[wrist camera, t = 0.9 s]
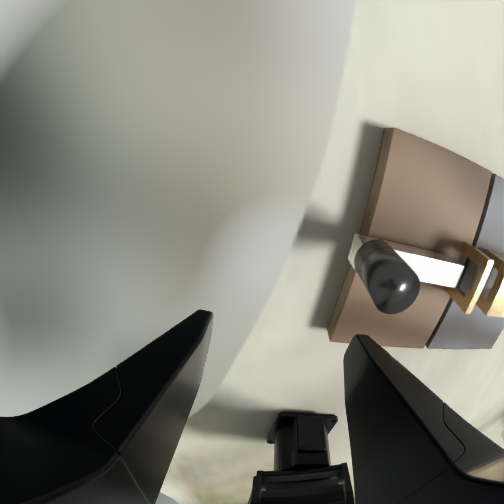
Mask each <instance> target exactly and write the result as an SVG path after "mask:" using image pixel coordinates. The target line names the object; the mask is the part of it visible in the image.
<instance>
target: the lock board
mask: <svg viewBox="0 0 504 504" xmlns="http://www.w3.org/2000/svg"><path fill="white" fill-rule="evenodd" d="M360 235H365V236H369V237H374V238H378V239H383V240H387V241H391V242H396V243H400V244H404V245H408V246H413V247H417V248H421V249H425V250H429V251H433V252H437V253H441V254H445V255H449V256H452V257H454V258H455V259H457V260H458V261H459V262H460V263H461V264H462V265H464V266H465V267H464V270H463V272H462V274H461V277H460V279H459V281H458V284H457V286H458V287H459V288H460V289H461V290H462V291H463V292H464V293H465V294H466V293H467V291H468V289H469V286H470V284H471V282H472V279H473V277H474V275H475V272H476V270H477V267H478V265H477V264H476V263H474V262H473V261H472V260H471V259H469V258H468V257H467V256H466V255H464V254H463V253H462V252H461V251H462V248H463V245H464V243H465V242H467V243H470V244H471V245H473V246H474V247H476V248H477V249H479V250H480V251H481V252H483V253H484V251H485V249H489V250H491V251H494V252H497V253H500V254H503V255H504V179H503V178H501V177H499V176H497V175H496V174H492V172H491V171H489V170H487V169H485V168H483V167H481V166H480V165H478V164H476V163H474V162H472V161H470V160H468V159H466V158H464V157H462V156H460V155H458V154H456V153H454V152H452V151H450V150H447V149H445V148H443V147H441V146H439V145H436V144H434V143H432V142H429V141H427V140H424V139H422V138H420V137H417V136H415V135H412V134H409V133H407V132H404V131H402V130H399V129H396V128H385V129H384V135H383V140H382V145H381V150H380V154H379V159H378V164H377V168H376V172H375V177H374V181H373V185H372V189H371V193H370V197H369V201H368V205H367V209H366V212H365V216H364V220H363V223H362V227H361V230H360ZM498 272H499V271H498V270H497V269H495V268H494V267H493V266H492V268H491V270H490V273H489V275H488V278H487V280H486V282H485V285H484V287H483V288H484V289H489V290H491V288H492V286H493V284H494V281H495V279H496V277H497V274H498ZM446 288H447V286H442V285H437V284H431V283H426V282H420V290H419V294H418V296H417V298H416V300H415V301H414V302H413V304H412V305H411V306H410V307H409V308H407V309H406V310H404V311H402V312H400V313H397V314H385V313H382V312H380V311H379V310H378V309H377V308H376V306H375V304H374V302H373V300H372V298H371V297H370V295H369V293H368V291H367V289H366V287H365V286H364V284H363V282H362V280H361V278H360V277H359V275H358V273H357V271H356V270H354V269H353V267H352V265H351V263H350V266H349V269H348V272H347V275H346V278H345V281H344V284H343V287H342V290H341V293H340V296H339V298H338V301H337V304H336V307H335V309H334V312H333V315H332V317H331V320H330V323H329V325H328V328H327V331H328V335H329V339H330V341H331V342H341V343H350V342H351V339H352V337H353V336H354V335H355V334H364V335H368V336H370V337H371V338H372V339H373V340H374V341H375V342H376V343H378V344H379V345H380V346H387V347H404V348H424V346H425V345H426V347H427V349H491V348H492V346H493V345H494V343H495V341H496V340H497V338H498V336H499V335H500V333H501V331H502V329H503V328H504V318H503V317H492V316H486V315H485V314H484V313H483V312H482V311H481V310H480V308H479V307H478V306H477V305H476V304H475V306H474V308H473V310H472V312H471V314H465V313H464V312H463V311H462V310H461V308H460V307H459V306H458V305H457V304H456V303H455V302H454V300H453V299H452V298H451V297H450V296H449V295H448V294H447V293H446V292H445V290H446Z"/></svg>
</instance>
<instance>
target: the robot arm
mask: <svg viewBox="0 0 504 504" xmlns="http://www.w3.org/2000/svg"><path fill="white" fill-rule="evenodd" d="M212 324H213V313H212V312H210V311H205V310H197V311H196V312H195V313H193V314H192V315H190V316H189V317H187V318H186V319H184V320H183V321H182V322H180V323H179V324H177V325H176V326H174V327H173V328H171V329H170V330H169V331H167V332H166V333H164V334H163V335H161V336H160V337H158V338H157V339H155V340H154V341H152V342H151V343H150V344H148V345H146V346H145V347H144V348H142V349H141V350H139V351H138V352H136V353H135V354H133V355H132V356H130V357H129V358H127V359H126V360H124V361H123V362H121V363H120V364H119V365H117V368H116V367H114V368H112V369H111V370H109V371H108V372H106V373H105V374H103V375H101V376H100V377H98V378H97V379H95V380H93V381H92V382H90V383H89V384H87V385H85V386H83V387H81V388H79V389H77V390H75V391H74V392H72V393H70V394H68V395H66V396H63V397H61V398H59V399H57V400H55V401H53V402H51V403H49V404H47V405H45V406H42V407H40V408H38V409H36V410H34V411H32V412H29V413H27V414H23V415H20V416H14V417H0V504H155V503H156V500H157V497H158V495H159V492H160V489H161V487H162V484H163V481H164V479H165V476H166V474H167V471H168V468H169V466H170V463H171V460H172V458H173V455H174V453H175V450H176V447H177V445H178V442H179V439H180V437H181V434H182V431H183V429H184V426H185V424H186V421H187V418H188V416H189V413H190V410H191V408H192V405H193V403H194V400H195V397H196V394H197V392H198V389H199V386H200V383H201V379H202V374H203V370H204V366H205V361H206V357H207V353H208V348H209V344H210V340H211V332H212ZM343 363H344V388H345V407H346V415H347V422H348V430H349V438H350V447H351V456H352V466H353V477H354V490H355V504H504V449H503V448H501V447H500V446H498V445H497V444H496V443H494V442H493V441H492V440H490V439H489V438H488V437H486V436H485V435H484V434H482V433H481V432H480V431H478V430H477V429H476V428H474V427H473V426H472V425H471V424H469V423H468V422H467V421H466V420H464V419H463V418H462V417H461V416H460V415H458V414H457V413H456V412H455V411H454V410H453V409H451V408H450V407H449V406H448V405H447V404H446V403H445V402H444V403H443V401H442V400H441V399H440V398H439V397H438V396H437V395H436V394H435V393H433V392H432V391H431V390H430V389H429V388H428V387H427V386H426V385H424V384H423V383H422V382H421V381H420V380H419V379H418V378H416V377H415V376H414V375H413V374H412V373H411V372H410V371H409V370H407V369H406V368H405V367H404V366H403V365H402V364H401V363H399V362H398V361H397V360H396V359H395V358H394V357H393V356H391V355H390V354H389V353H388V352H387V351H386V350H384V349H383V348H382V347H381V346H380V345H379V344H378V343H376V342H375V341H374V340H373V339H372V338H371V337H370V336H368V335H364V334H355V335H354V336H353V337H352V339H351V342H350V344H349V346H348V348H347V350H346V352H345V355H344V360H343ZM337 421H338V418H337V416H329V415H308V414H294V413H279V414H278V415H277V417H276V420H275V422H274V424H273V426H272V428H271V431H270V433H269V435H268V437H267V443H269V444H275V446H274V471H257V476H254V477H253V487H252V492H251V495H250V498H249V501H248V504H354V496H353V490H352V485H351V480H350V476H349V471H348V467H347V463H341V464H339V465H333V466H331V461H330V452H329V443H328V434H329V432H330V431H331V430H332V428H333V427H334V425H335V424H336V423H337Z"/></svg>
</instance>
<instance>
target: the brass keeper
mask: <svg viewBox="0 0 504 504" xmlns="http://www.w3.org/2000/svg"><path fill="white" fill-rule="evenodd" d="M461 252H462V253H463V254H464V255H466V256H467V257H468V258H469V259H471V260H472V261H473V262H474V263H476V264H477V265H478V267H477V270H476V272H475V275H474V277H473V279H472V282H471V284H470V286H469V289H468V291H467V293H466V294H465V293H464V292H463V291H462V290H461V289H460V288H459V287H458V286H456V288H453V287H448V286H447V288H446V290H445V292H446V293H447V294H448V295H449V296H450V297H451V298H452V299H453V300H454V302H455V303H456V304H457V305H458V306H459V307H460V308H461V310H462V311H463V312H464V313H465V314H471V312H472V310H473V308H474V306H475V304H476V305H477V306H478V307H479V308H480V310H481V311H482V312H483V313H484V314H485V315H486V316H492V317H503V318H504V255H503V254H500V253H497V252H494V251H491V250H489V249H485V251H484V253H483V252H481V251H480V250H479V249H477V248H476V247H474V246H473V245H471V244H470V243H467V242H465V243H464V245H463V248H462V251H461ZM492 266H493V267H494V268H495V269H497V270H498V271H499V272H498V274H497V277H496V279H495V281H494V284H493V286H492V288H491V290H489V289H484V288H483V287H484V285H485V282H486V280H487V278H488V275H489V273H490V270H491V268H492Z"/></svg>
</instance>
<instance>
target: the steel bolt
mask: <svg viewBox="0 0 504 504" xmlns="http://www.w3.org/2000/svg"><path fill="white" fill-rule="evenodd" d="M348 260H349V261H350V263H351V265H352V267H353V269H354V270H356V271H357V273H358V275H359V277H360V278H361V280H362V282H363V284H364V286H365V287H366V289H367V291H368V293H369V295H370V297H371V298H372V300H373V302H374V304H375V306H376V308H377V309H378V310H379V311H380V312H382V313H385V314H397V313H400V312H402V311H404V310H406V309H407V308H409V307H410V306H411V305H412V304H413V302H414V301H415V300H416V298H417V296H418V294H419V290H420V282H426V283H431V284H437V285H442V286H448V287H453V288H456V286H457V284H458V281H459V279H460V277H461V274H462V272H463V270H464V267H465V266H464V265H462V264H461V263H460V262H459V261H458V260H457V259H455V258H454V257H452V256H449V255H445V254H441V253H437V252H433V251H429V250H425V249H421V248H417V247H413V246H408V245H404V244H400V243H396V242H391V241H387V240H383V239H378V238H374V237H369V236H365V235H360V234H356V233H355V235H354V238H353V241H352V245H351V248H350V251H349V255H348Z"/></svg>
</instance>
